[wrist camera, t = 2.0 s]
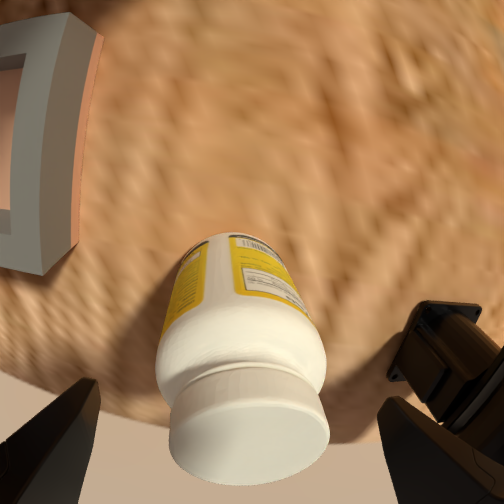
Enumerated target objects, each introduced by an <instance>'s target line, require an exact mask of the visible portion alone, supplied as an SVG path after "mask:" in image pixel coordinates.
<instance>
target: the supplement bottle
mask: <svg viewBox="0 0 504 504" xmlns="http://www.w3.org/2000/svg"><path fill="white" fill-rule="evenodd" d="M326 365H327V364H326V355H325V351H324V347H323V344H322V341H321V339H320V336H319V334H318V331H317V329H316V327H315V325H314V323H313V322H312V320H311V317H310V315H309V314H308V311H307V309H306V308H305V305H304V303H303V301H302V299H301V297H300V295H299V293H298V291H297V289H296V287H295V285H294V283H293V281H292V279H291V278H290V275H289V273H288V272H287V270H286V268H285V266H284V264H283V262H282V260H281V258H280V257H279V256H278V254H277V253H276V252H275V251H274V250H273V249H272V248H271V247H270V246H269V245H268V244H267V243H265V242H264V241H262V240H260V239H258V238H256V237H254V236H251V235H248V234H244V233H237V232H229V233H221V234H217V235H213V236H211V237H208V238H206V239H204V240H202V241H201V242H199V243H198V244H196V245H195V246H194V247H193V248H192V249H191V250H190V251H189V252H188V253H187V254H186V256H185V257H184V259H183V261H182V263H181V265H180V267H179V270H178V273H177V276H176V279H175V283H174V287H173V291H172V295H171V298H170V302H169V306H168V310H167V314H166V317H165V321H164V325H163V329H162V333H161V337H160V341H159V345H158V349H157V355H156V363H155V373H156V380H157V384H158V388H159V390H160V392H161V394H162V396H163V398H164V400H165V401H166V402H167V404H168V405H169V406H170V408H171V413H170V433H169V449H170V452H171V455H172V457H173V459H174V460H175V462H176V463H177V464H178V465H179V466H180V467H181V468H182V469H183V470H185V471H186V472H188V473H189V474H191V475H193V476H195V477H197V478H200V479H202V480H205V481H208V482H212V483H218V484H223V485H234V486H249V485H259V484H265V483H271V482H275V481H279V480H282V479H285V478H287V477H290V476H292V475H294V474H297V473H299V472H300V471H302V470H304V469H306V468H307V467H309V466H310V465H311V464H313V463H314V462H315V461H316V460H318V458H319V457H320V456H321V455H322V454H323V452H324V451H325V449H326V447H327V445H328V443H329V438H330V430H329V425H328V422H327V419H326V416H325V413H324V410H323V407H322V404H321V401H320V398H319V396H318V394H319V392H320V390H321V388H322V386H323V383H324V380H325V375H326Z"/></svg>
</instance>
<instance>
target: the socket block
mask: <svg viewBox="0 0 504 504" xmlns="http://www.w3.org/2000/svg"><path fill="white" fill-rule="evenodd" d="M103 42H104V37H103V36H101V35H100V34H99V33H97V32H96V31H95V30H93V29H92V28H91V27H89V26H88V25H87V24H85V23H84V22H83V21H81V20H80V19H79V18H77V17H76V16H75V15H73V14H72V13H70V12H66V13H58V14H51V15H45V16H40V17H34V18H29V19H24V20H20V21H15V22H11V23H7V24H3V25H0V267H4V268H9V269H13V270H17V271H22V272H27V273H31V274H36V275H41V276H43V275H44V274H45V273H46V272H47V271H48V270H49V269H50V268H51V267H52V266H53V265H54V264H55V263H56V262H57V261H58V260H60V259H61V258H62V257H63V256H64V255H65V254H66V253H67V252H68V251H69V250H70V249H71V248H72V247H73V246H74V245H76V244H77V243H78V242H79V207H80V187H81V172H82V161H83V151H84V142H85V134H86V127H87V120H88V113H89V107H90V101H91V96H92V90H93V85H94V80H95V75H96V71H97V66H98V62H99V58H100V54H101V50H102V46H103Z"/></svg>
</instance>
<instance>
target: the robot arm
mask: <svg viewBox="0 0 504 504" xmlns="http://www.w3.org/2000/svg"><path fill="white" fill-rule="evenodd" d="M426 308H427V309H426ZM481 311H482V308H481V306H479V305H478V304H470V303H456V302H443V301H431V300H427V301H424V302H423V303H422V304H421V305H420V307H419V309H418V311H417V314H416V316H415V318H414V320H413V323H412V325H411V327H410V329H409V331H408V333H407V335H406V338H405V340H404V342H403V344H402V346H401V348H400V350H399V352H398V354H397V356H396V358H395V360H394V361H393V363H392V365H391V367H390V369H389V371H388V373H387V375H386V376H387V378H388V380H389V381H390V382H397V381H407V382H408V383H409V385H410V386H411V388H412V389H413V391H414V392H415V394H416V396H417V397H418V399H419V400H420V402H421V403H425V404H426V406H427V408H428V409H429V411H430V412H431V414H432V415H433V417H434V418H435V420H436V421H437V423H436V422H435V421H434V420H432V419H431V418H429V417H428V416H426V415H425V414H424V413H422V412H421V411H419V410H418V409H417V408H415V407H414V406H412V405H411V404H409V403H408V402H407V401H405V400H404V399H402V398H401V397H399V396H394V397H388V398H387V399H386V401H385V402H384V404H383V405H382V407H381V409H380V410H379V412H378V414H377V422H378V426H379V431H380V436H381V441H382V446H383V451H384V456H385V459H386V463H387V466H388V469H389V473H390V476H391V479H392V483H393V486H394V490H395V493H396V497H397V500H398V504H504V346H503V347H502V349H501V348H500V347H499V346H498V345H497V344H496V343H495V342H494V341H493V340H492V339H491V338H490V337H489V336H488V335H487V334H485V333H484V332H483V331H482V330H481V329H480V328H479V327H478V326H477V325H476V322H477V320H478V318H479V316H480V314H481ZM100 404H101V398H100V392H99V387H98V382H97V380H96V379H92V378H88V377H83V378H81V379H80V380H79V381H77V382H76V383H75V384H74V385H72V386H71V387H70V388H69V389H67V390H66V391H65V392H64V393H62V394H61V395H60V396H59V397H57V398H56V399H55V400H54V401H53V402H51V403H50V404H49V405H48V406H47V407H45V408H44V409H43V410H41V411H40V412H39V413H38V414H37V415H35V416H34V417H33V418H32V419H31V420H29V421H28V422H27V423H26V424H24V425H23V426H22V427H21V428H20V429H18V430H17V431H16V432H15V433H13V434H12V435H11V436H10V437H8V438H7V439H6V442H5V441H4V442H2V443H1V444H0V504H78V500H79V496H80V492H81V488H82V485H83V481H84V477H85V474H86V470H87V466H88V463H89V459H90V456H91V452H92V448H93V443H94V437H95V431H96V426H97V420H98V414H99V410H100ZM441 422H444V423H443V424H442V425H439V424H438V423H441Z"/></svg>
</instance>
